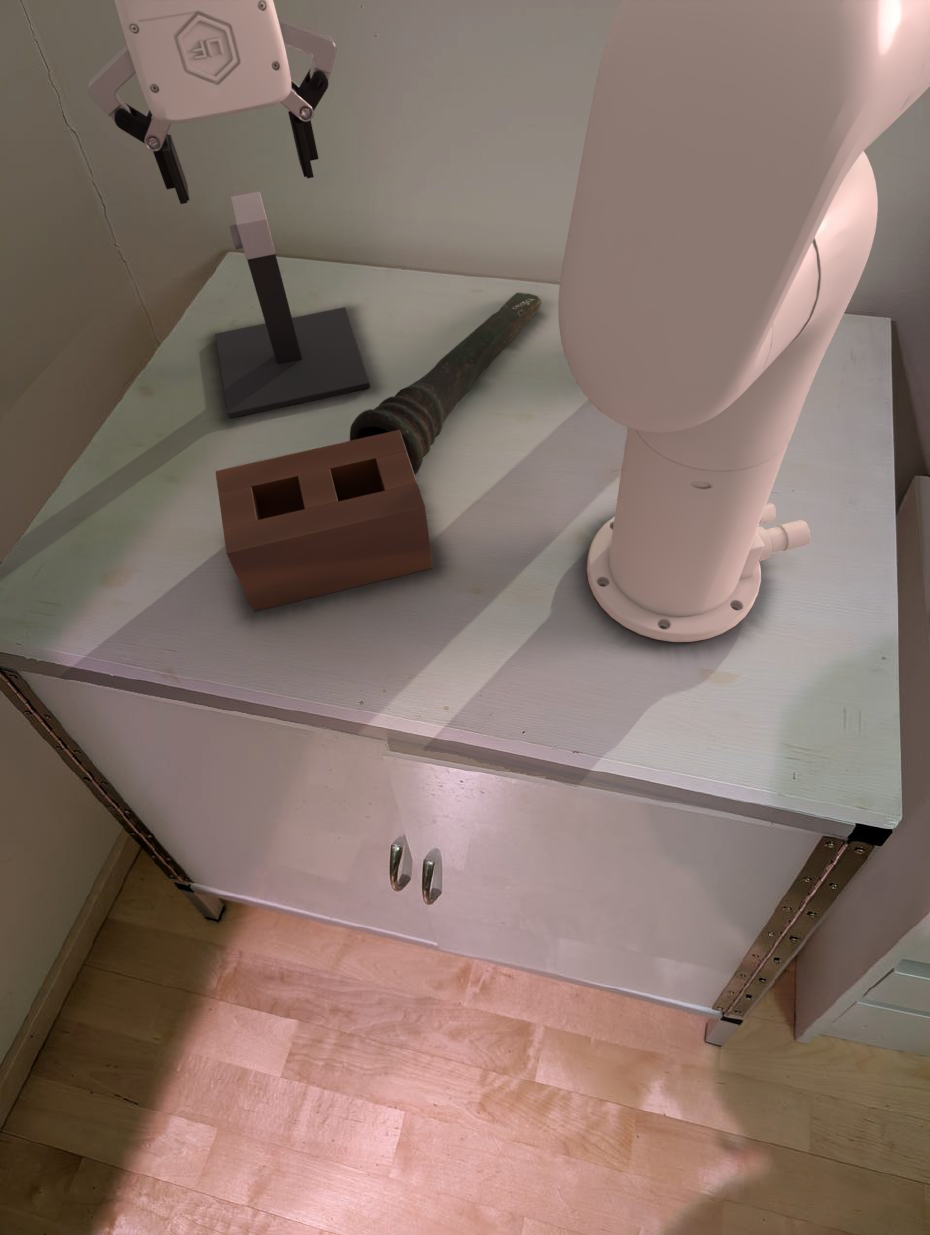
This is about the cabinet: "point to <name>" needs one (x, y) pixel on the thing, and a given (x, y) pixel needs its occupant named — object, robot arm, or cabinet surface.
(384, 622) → the cabinet surface
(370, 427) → the tool
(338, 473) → the holder
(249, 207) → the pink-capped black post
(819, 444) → the cabinet surface
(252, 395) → the mat
